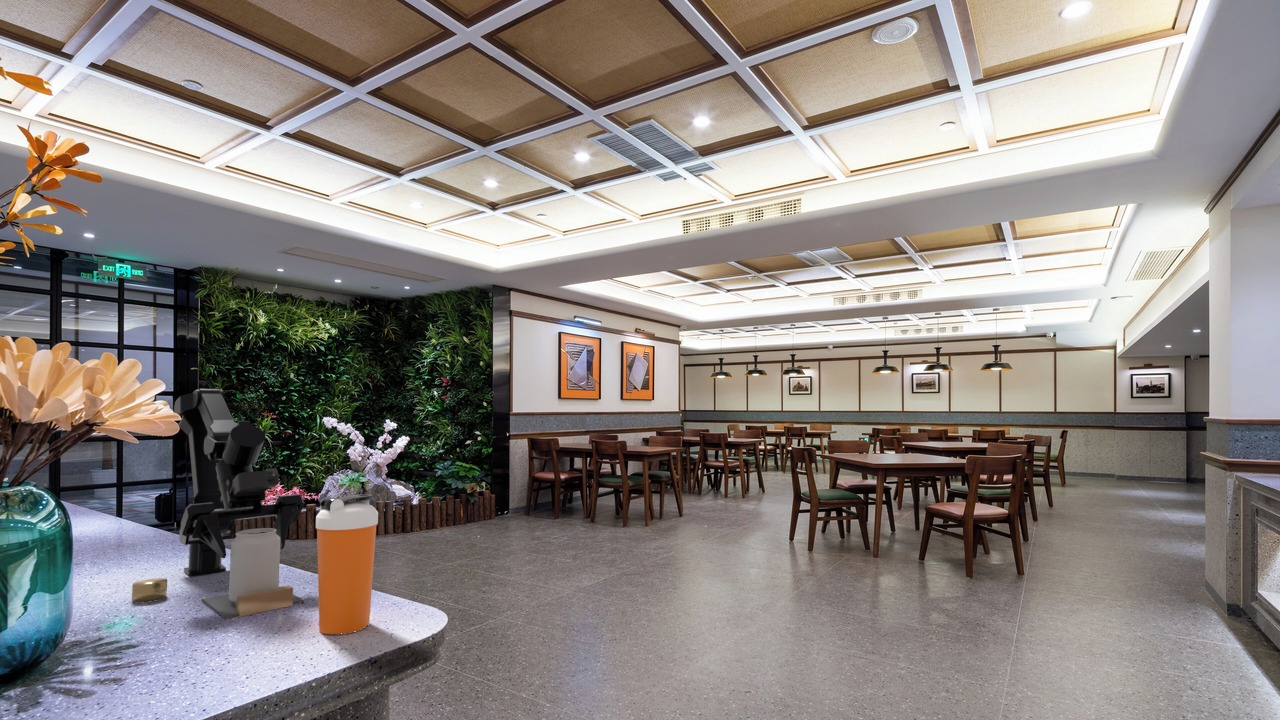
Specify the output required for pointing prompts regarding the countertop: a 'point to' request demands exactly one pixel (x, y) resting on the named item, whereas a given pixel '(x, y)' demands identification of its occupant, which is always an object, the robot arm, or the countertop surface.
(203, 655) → the countertop surface
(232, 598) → the can
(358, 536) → the shaker bottle
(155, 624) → the countertop surface
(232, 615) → the seat pad
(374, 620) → the countertop surface
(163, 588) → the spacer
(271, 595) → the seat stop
